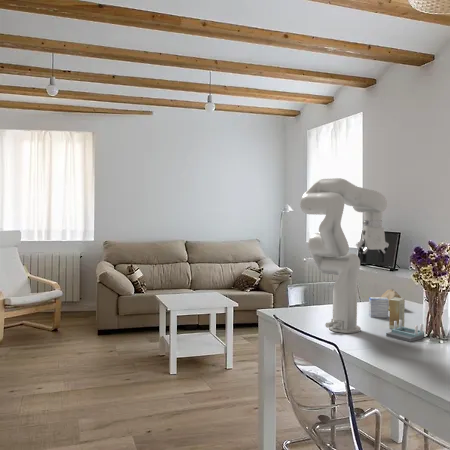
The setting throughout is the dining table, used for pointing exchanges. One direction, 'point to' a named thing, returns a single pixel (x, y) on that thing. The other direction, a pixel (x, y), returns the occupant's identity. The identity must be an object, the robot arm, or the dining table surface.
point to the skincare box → (396, 311)
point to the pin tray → (406, 332)
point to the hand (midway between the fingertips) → (372, 262)
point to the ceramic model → (390, 296)
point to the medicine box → (378, 307)
